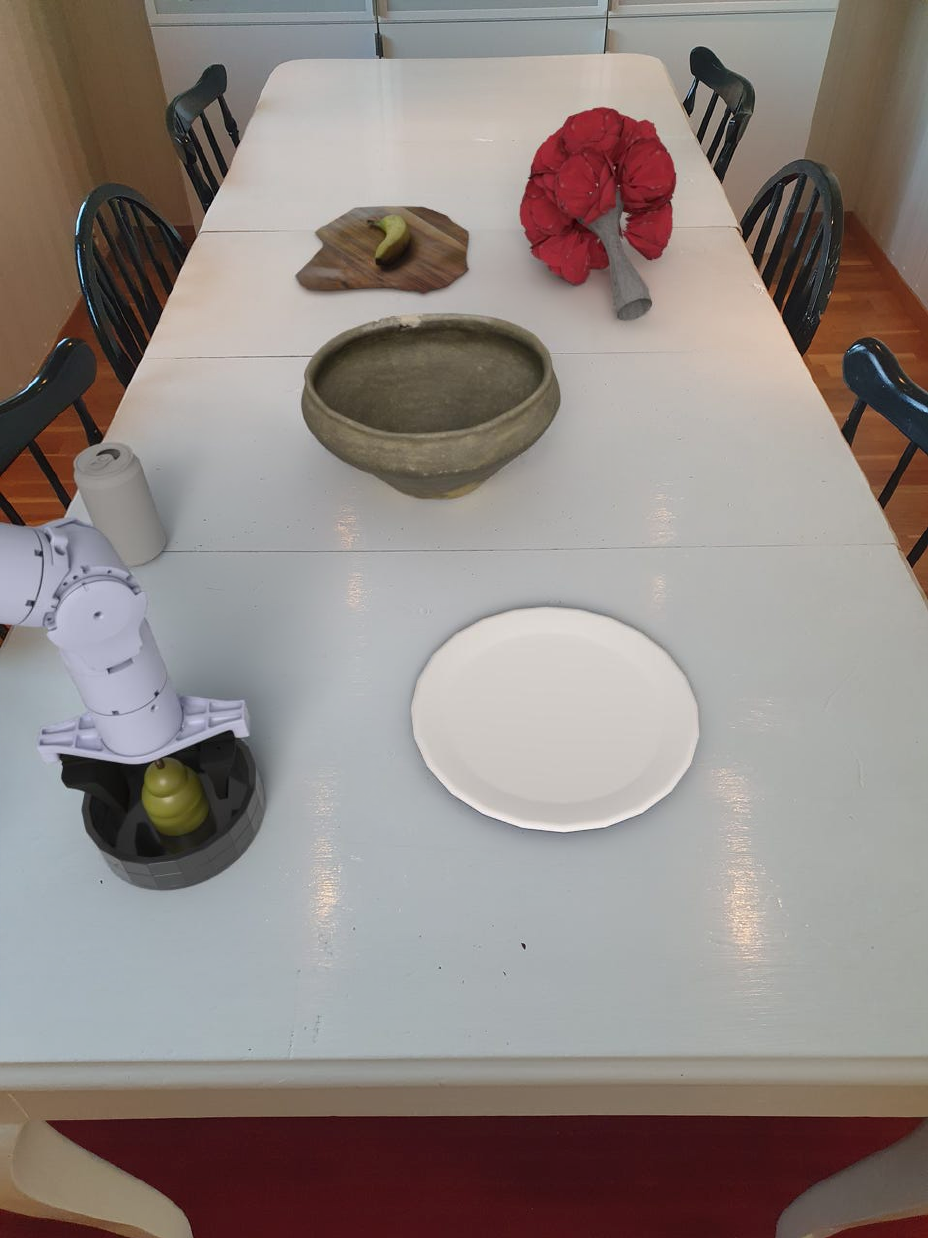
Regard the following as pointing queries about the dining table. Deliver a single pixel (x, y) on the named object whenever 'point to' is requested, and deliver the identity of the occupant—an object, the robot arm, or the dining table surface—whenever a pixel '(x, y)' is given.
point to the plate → (555, 719)
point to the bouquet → (600, 201)
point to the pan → (187, 857)
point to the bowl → (431, 399)
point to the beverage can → (120, 501)
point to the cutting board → (387, 250)
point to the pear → (174, 797)
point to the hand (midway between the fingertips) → (174, 795)
